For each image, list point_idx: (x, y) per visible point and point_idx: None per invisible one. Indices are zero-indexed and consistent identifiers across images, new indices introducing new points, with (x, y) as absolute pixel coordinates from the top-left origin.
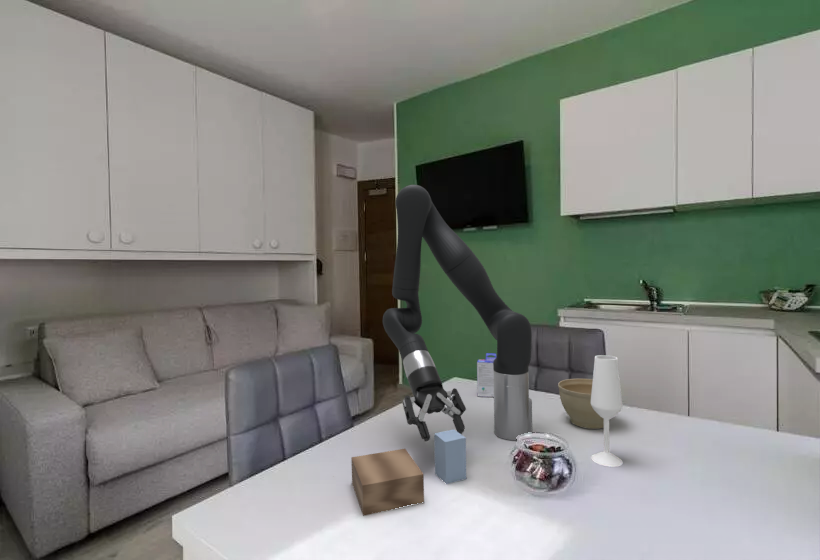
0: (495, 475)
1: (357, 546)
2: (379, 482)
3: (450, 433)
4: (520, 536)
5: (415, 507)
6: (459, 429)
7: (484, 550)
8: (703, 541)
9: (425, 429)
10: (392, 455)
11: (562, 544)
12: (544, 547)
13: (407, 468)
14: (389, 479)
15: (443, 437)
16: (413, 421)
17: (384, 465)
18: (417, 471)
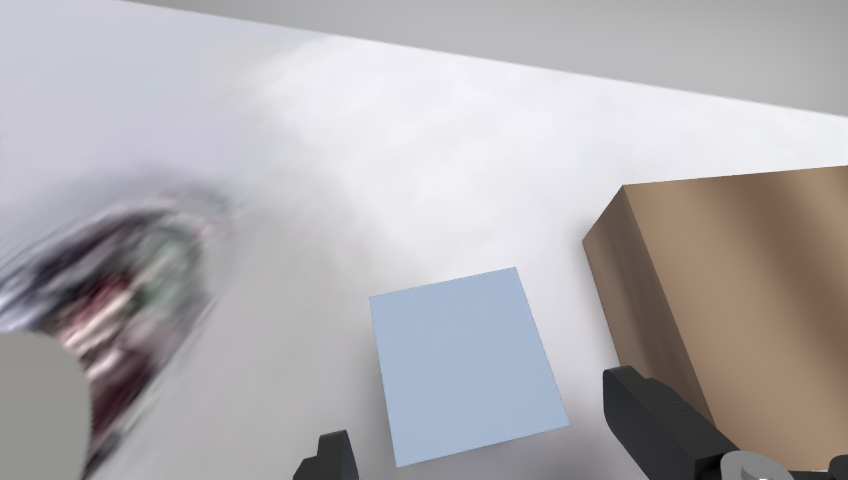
0: (265, 349)
1: (757, 119)
2: (801, 170)
3: (447, 389)
4: (369, 79)
5: None
6: (349, 464)
7: (465, 62)
8: (40, 10)
9: (663, 399)
10: (803, 396)
11: (300, 48)
12: (341, 48)
13: (696, 241)
14: (764, 178)
15: (513, 335)
16: (826, 475)
17: (819, 294)
18: (648, 208)
